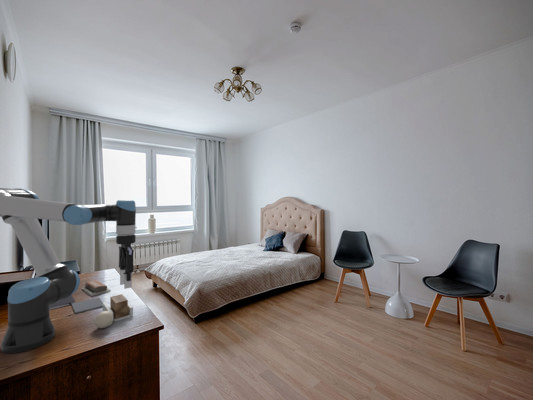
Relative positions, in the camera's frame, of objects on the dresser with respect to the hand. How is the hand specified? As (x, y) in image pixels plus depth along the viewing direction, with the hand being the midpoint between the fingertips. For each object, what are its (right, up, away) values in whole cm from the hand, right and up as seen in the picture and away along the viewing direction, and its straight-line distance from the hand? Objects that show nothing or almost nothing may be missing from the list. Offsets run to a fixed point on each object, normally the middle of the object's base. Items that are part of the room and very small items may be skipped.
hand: (125, 285), depth 110 cm
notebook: (-51, -17, +23) cm, 58 cm away
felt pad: (-30, -17, +18) cm, 39 cm away
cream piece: (-8, -17, -3) cm, 19 cm away
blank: (-8, -17, +8) cm, 21 cm away
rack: (-10, -17, +10) cm, 22 cm away
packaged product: (-41, -17, +40) cm, 60 cm away
